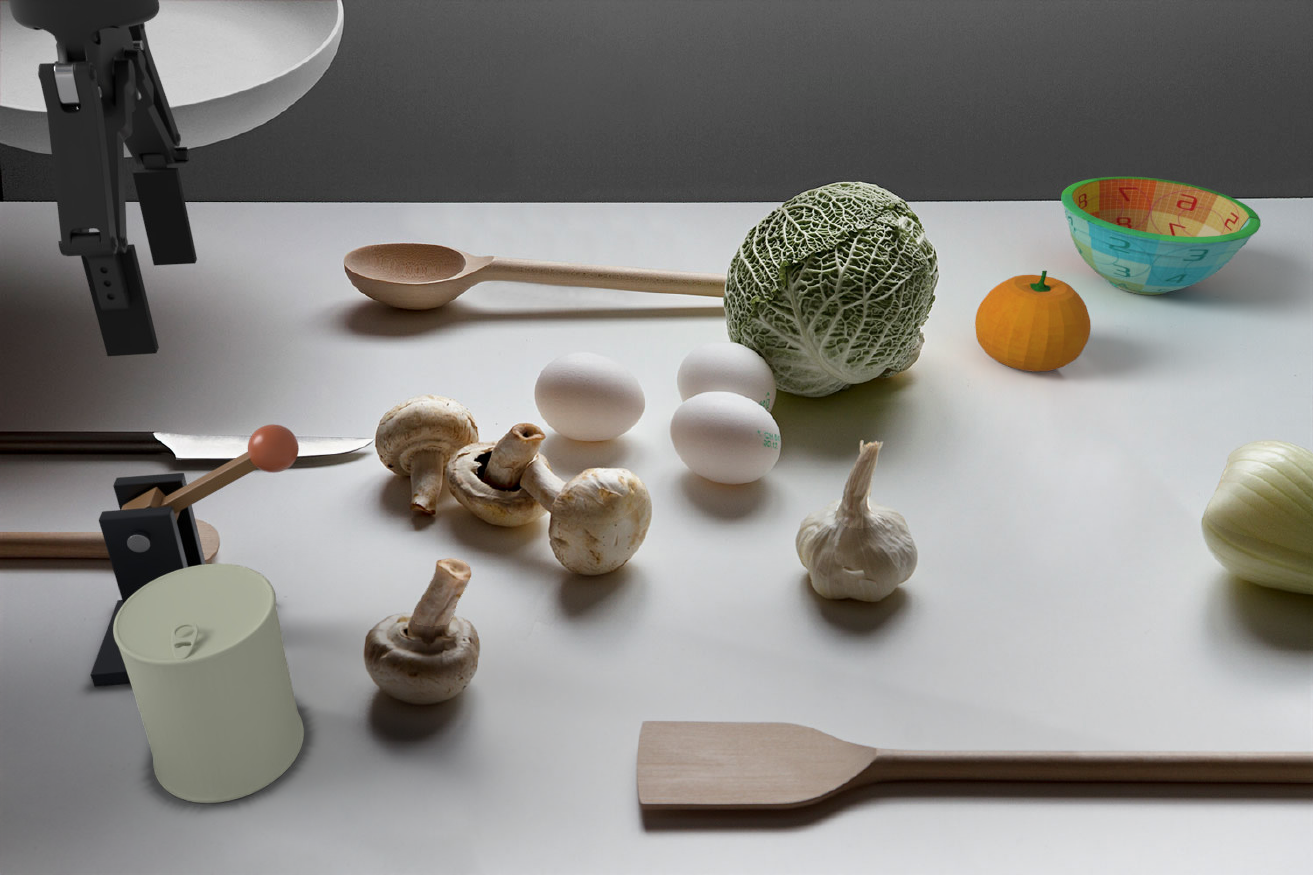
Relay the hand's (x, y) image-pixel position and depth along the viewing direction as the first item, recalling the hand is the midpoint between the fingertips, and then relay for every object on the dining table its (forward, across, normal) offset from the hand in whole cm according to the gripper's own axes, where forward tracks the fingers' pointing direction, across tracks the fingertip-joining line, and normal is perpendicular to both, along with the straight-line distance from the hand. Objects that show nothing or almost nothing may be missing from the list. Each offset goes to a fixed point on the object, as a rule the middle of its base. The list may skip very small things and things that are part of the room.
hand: (156, 304), depth 72 cm
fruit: (+25, +30, -79) cm, 88 cm away
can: (+25, -15, -2) cm, 29 cm away
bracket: (+25, -4, +3) cm, 25 cm away
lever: (+13, -4, -3) cm, 14 cm away
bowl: (+25, +46, -102) cm, 115 cm away
